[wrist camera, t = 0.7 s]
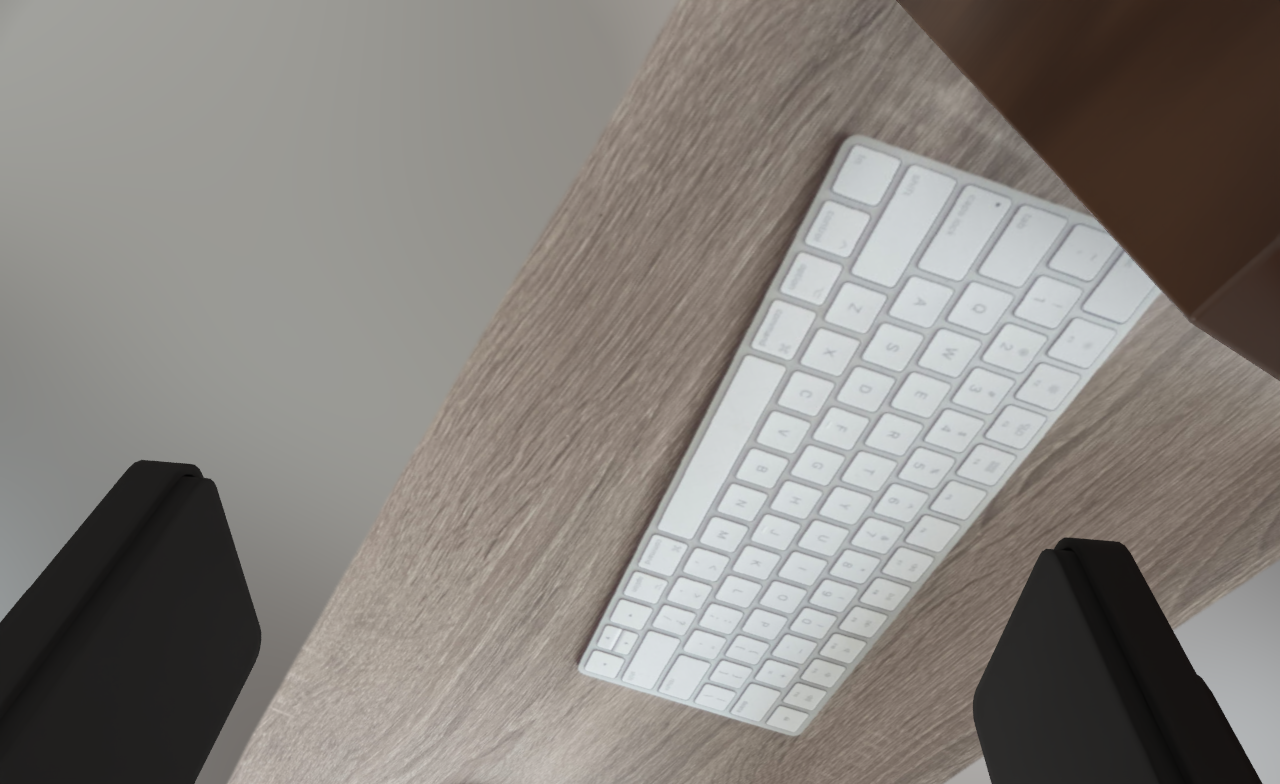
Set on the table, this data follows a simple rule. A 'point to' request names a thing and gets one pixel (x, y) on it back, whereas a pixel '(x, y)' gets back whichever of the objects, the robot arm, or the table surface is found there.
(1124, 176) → the brown wooden block
